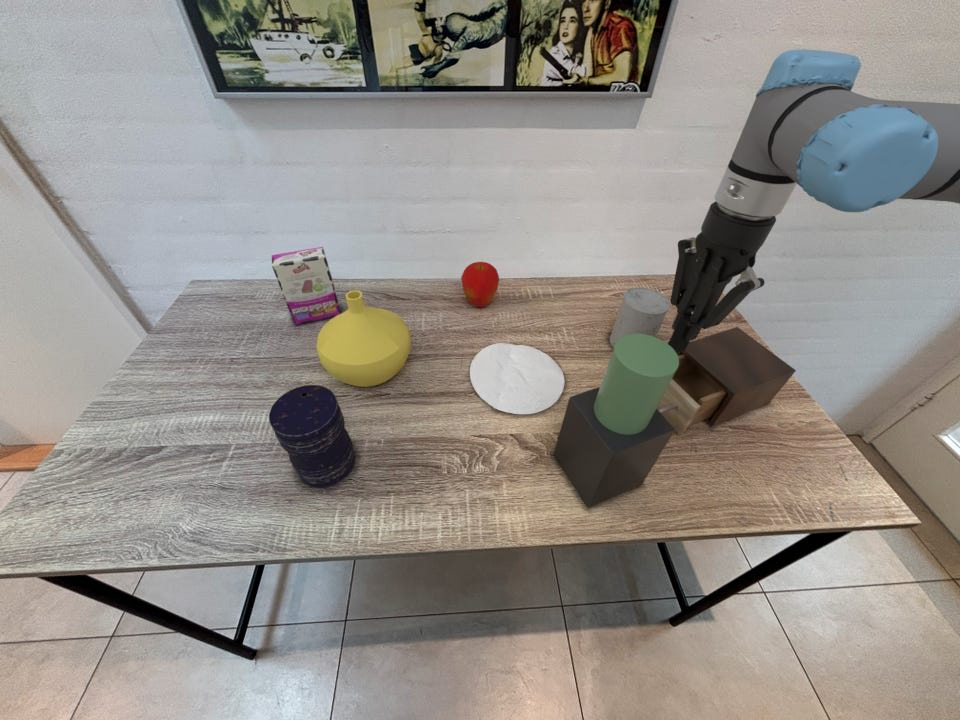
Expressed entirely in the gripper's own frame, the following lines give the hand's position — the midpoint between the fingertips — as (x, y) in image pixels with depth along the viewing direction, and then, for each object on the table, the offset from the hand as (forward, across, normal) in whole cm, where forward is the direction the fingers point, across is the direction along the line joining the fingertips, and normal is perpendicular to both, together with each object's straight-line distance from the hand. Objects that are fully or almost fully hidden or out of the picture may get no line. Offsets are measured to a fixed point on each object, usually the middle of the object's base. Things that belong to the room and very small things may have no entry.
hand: (675, 349), depth 66 cm
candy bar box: (+19, -56, -53) cm, 80 cm away
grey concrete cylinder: (+19, -19, +13) cm, 30 cm away
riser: (+19, +6, -14) cm, 24 cm away
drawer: (+18, 0, +8) cm, 20 cm away
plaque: (+19, -19, -17) cm, 32 cm away
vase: (+19, -33, -45) cm, 59 cm away
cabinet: (+19, 0, +20) cm, 27 cm away
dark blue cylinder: (+19, -13, -57) cm, 62 cm away
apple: (+19, -46, -14) cm, 52 cm away
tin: (+3, +6, -14) cm, 16 cm away
